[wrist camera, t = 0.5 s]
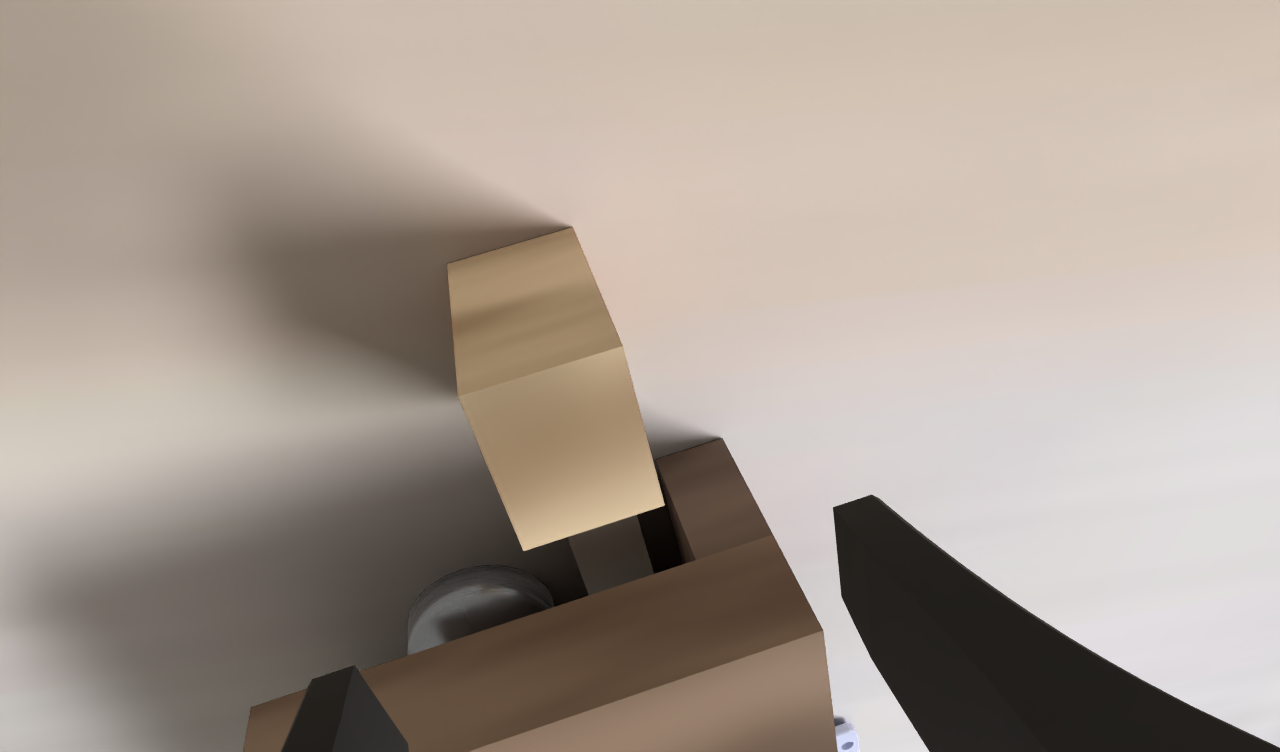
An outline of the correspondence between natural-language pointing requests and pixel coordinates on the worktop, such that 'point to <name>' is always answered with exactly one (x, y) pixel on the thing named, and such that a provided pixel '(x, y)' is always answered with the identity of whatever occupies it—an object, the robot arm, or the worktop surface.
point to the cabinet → (630, 653)
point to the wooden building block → (554, 404)
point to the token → (473, 604)
